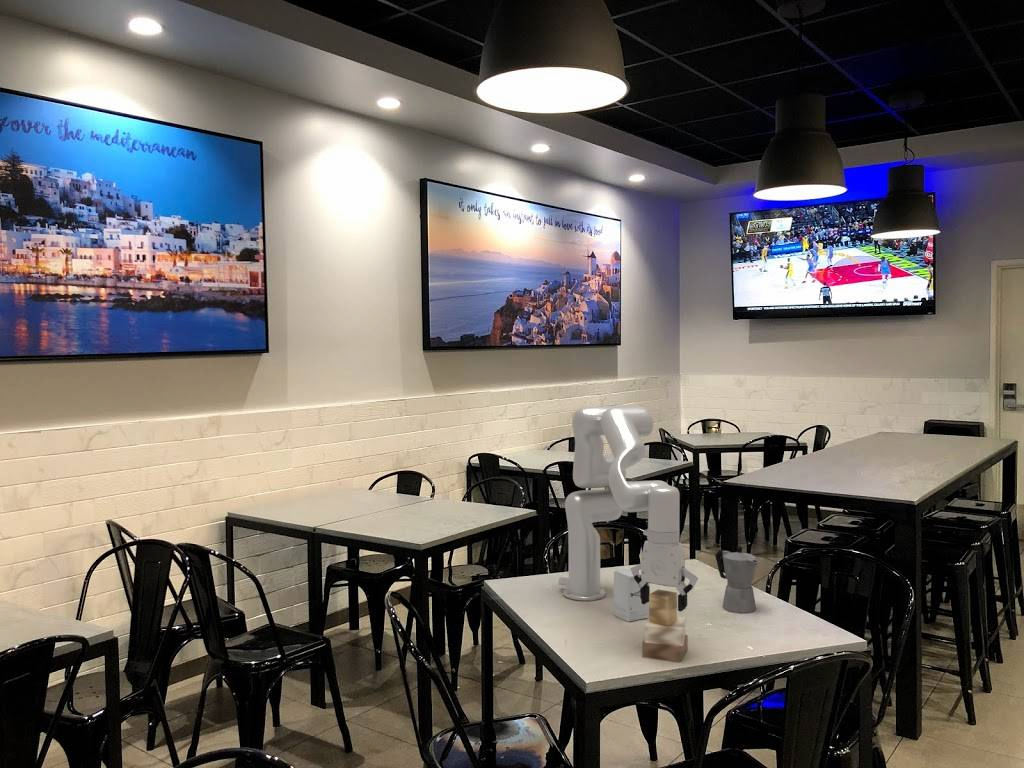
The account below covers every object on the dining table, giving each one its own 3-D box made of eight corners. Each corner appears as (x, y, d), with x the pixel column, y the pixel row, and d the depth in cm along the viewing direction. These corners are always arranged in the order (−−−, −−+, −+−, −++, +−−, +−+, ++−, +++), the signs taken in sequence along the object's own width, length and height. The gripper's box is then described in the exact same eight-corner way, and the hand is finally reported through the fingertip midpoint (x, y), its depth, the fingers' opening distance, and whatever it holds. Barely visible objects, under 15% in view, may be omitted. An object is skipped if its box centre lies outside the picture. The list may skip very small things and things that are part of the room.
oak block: (649, 622, 203) (649, 594, 203) (658, 617, 207) (658, 589, 207) (668, 626, 200) (668, 597, 200) (676, 620, 204) (676, 592, 204)
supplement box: (628, 622, 227) (628, 576, 226) (612, 614, 233) (612, 570, 233) (650, 618, 230) (650, 572, 230) (634, 610, 237) (634, 566, 236)
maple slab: (644, 642, 201) (644, 626, 201) (648, 630, 209) (648, 614, 209) (683, 646, 198) (683, 629, 198) (685, 633, 207) (685, 617, 207)
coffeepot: (768, 611, 235) (769, 548, 235) (746, 617, 230) (746, 553, 229) (727, 598, 248) (727, 538, 247) (704, 603, 243) (704, 542, 242)
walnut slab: (642, 658, 201) (642, 642, 201) (651, 646, 210) (651, 630, 209) (679, 663, 198) (679, 647, 198) (687, 651, 206) (687, 635, 206)
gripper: (624, 535, 205) (624, 604, 206) (690, 544, 195) (690, 616, 196) (638, 529, 211) (638, 596, 212) (703, 538, 201) (703, 608, 202)
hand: (663, 606), depth 204 cm, fingers open, 9 cm apart
